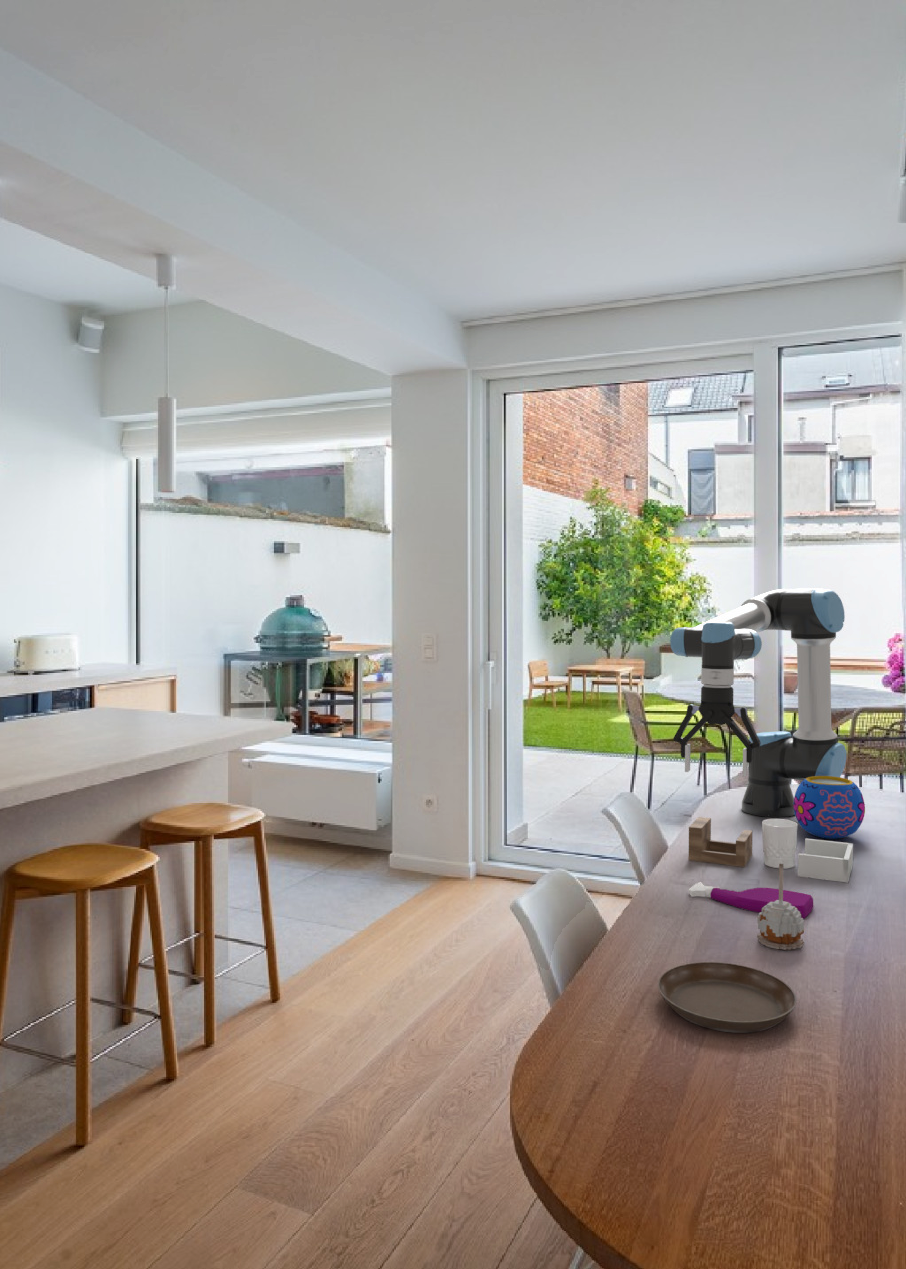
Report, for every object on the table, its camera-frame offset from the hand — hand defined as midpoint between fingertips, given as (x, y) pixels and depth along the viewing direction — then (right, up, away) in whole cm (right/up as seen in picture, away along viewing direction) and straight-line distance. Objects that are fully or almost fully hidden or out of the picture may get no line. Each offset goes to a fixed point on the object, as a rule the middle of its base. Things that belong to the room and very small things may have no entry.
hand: (715, 773), depth 228 cm
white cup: (+13, -21, -6) cm, 25 cm away
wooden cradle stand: (+1, -20, 0) cm, 20 cm away
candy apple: (-4, -23, -55) cm, 60 cm away
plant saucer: (-21, -25, -81) cm, 87 cm away
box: (+22, -21, -11) cm, 32 cm away
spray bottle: (-2, -23, -32) cm, 39 cm away
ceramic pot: (+35, -19, +19) cm, 44 cm away
